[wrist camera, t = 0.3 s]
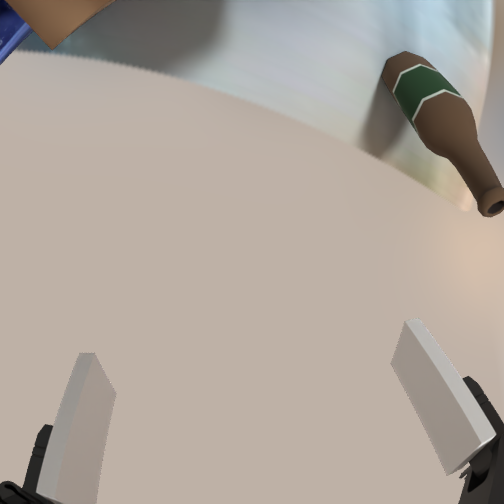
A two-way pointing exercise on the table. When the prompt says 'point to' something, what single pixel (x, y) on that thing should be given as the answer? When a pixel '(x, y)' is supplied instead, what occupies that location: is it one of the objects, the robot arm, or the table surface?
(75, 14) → the shelf
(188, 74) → the table surface
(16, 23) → the flower pot
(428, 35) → the table surface
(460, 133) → the beer bottle
